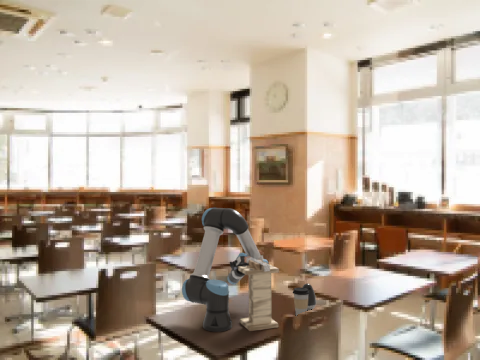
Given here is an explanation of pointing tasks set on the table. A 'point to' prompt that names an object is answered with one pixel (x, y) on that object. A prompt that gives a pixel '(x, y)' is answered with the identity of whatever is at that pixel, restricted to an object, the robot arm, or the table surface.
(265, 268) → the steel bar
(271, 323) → the birch stand
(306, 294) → the coffee cup
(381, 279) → the table surface
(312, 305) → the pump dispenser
